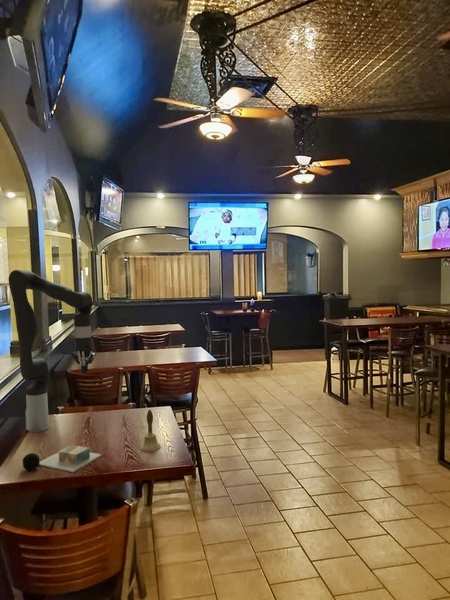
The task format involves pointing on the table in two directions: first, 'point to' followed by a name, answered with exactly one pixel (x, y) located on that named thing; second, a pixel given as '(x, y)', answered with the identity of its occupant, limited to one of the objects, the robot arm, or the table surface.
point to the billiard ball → (31, 461)
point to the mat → (54, 463)
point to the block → (74, 454)
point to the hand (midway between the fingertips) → (84, 373)
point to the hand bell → (150, 436)
